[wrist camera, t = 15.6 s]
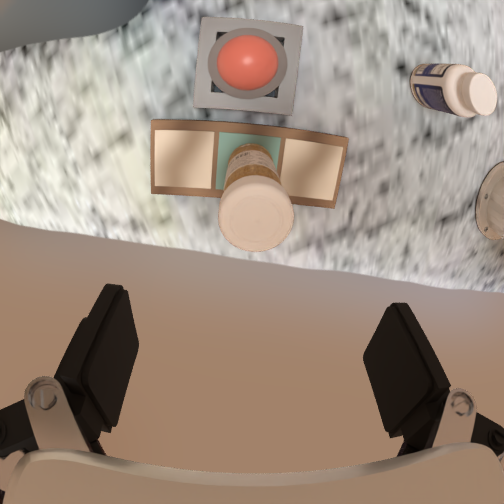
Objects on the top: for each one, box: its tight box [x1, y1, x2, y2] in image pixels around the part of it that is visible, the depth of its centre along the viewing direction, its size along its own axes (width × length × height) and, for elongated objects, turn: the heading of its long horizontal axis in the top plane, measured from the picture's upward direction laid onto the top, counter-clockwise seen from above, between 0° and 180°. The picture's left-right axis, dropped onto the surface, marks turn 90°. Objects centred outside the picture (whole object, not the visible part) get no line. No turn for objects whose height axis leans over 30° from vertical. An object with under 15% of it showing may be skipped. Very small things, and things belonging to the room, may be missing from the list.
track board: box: [151, 119, 349, 209], centre depth 29 cm, size 20×8×1 cm, turn 84°
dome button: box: [208, 28, 288, 99], centre depth 21 cm, size 7×7×6 cm
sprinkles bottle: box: [218, 143, 294, 252], centre depth 23 cm, size 5×5×14 cm
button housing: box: [193, 17, 303, 116], centre depth 23 cm, size 9×9×3 cm
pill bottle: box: [410, 64, 497, 117], centre depth 21 cm, size 5×5×10 cm
